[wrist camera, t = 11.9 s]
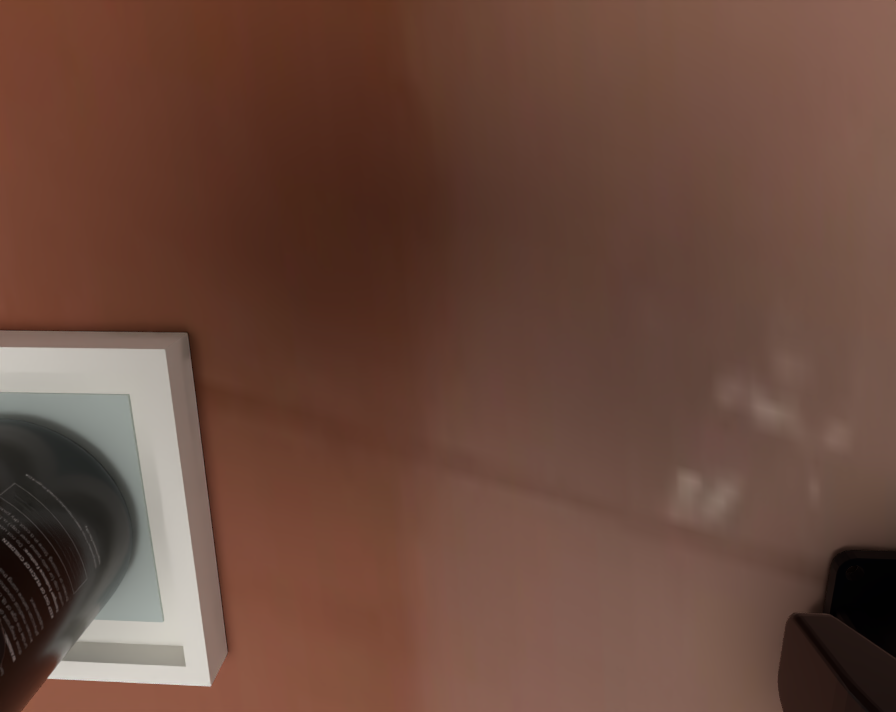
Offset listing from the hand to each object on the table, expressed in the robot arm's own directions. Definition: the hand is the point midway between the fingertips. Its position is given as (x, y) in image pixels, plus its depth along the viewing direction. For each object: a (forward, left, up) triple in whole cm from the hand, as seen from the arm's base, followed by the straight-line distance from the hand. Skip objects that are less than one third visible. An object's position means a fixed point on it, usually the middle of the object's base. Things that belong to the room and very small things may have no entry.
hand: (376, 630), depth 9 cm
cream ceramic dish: (+13, +6, -13) cm, 19 cm away
